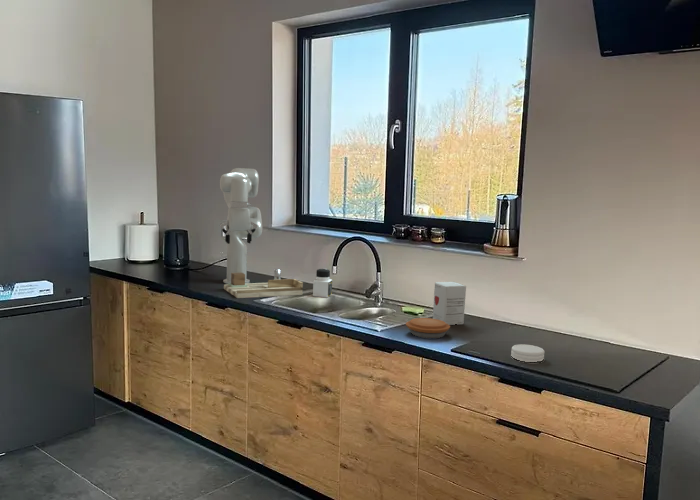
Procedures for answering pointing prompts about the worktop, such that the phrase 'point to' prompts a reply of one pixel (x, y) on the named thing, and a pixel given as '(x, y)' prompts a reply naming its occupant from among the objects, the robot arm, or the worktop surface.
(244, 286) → the pad
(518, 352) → the white round container
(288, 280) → the board
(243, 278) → the walnut cube
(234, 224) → the robot arm
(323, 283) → the medicine bottle
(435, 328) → the pie
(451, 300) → the supplement box
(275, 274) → the grey metal peg
